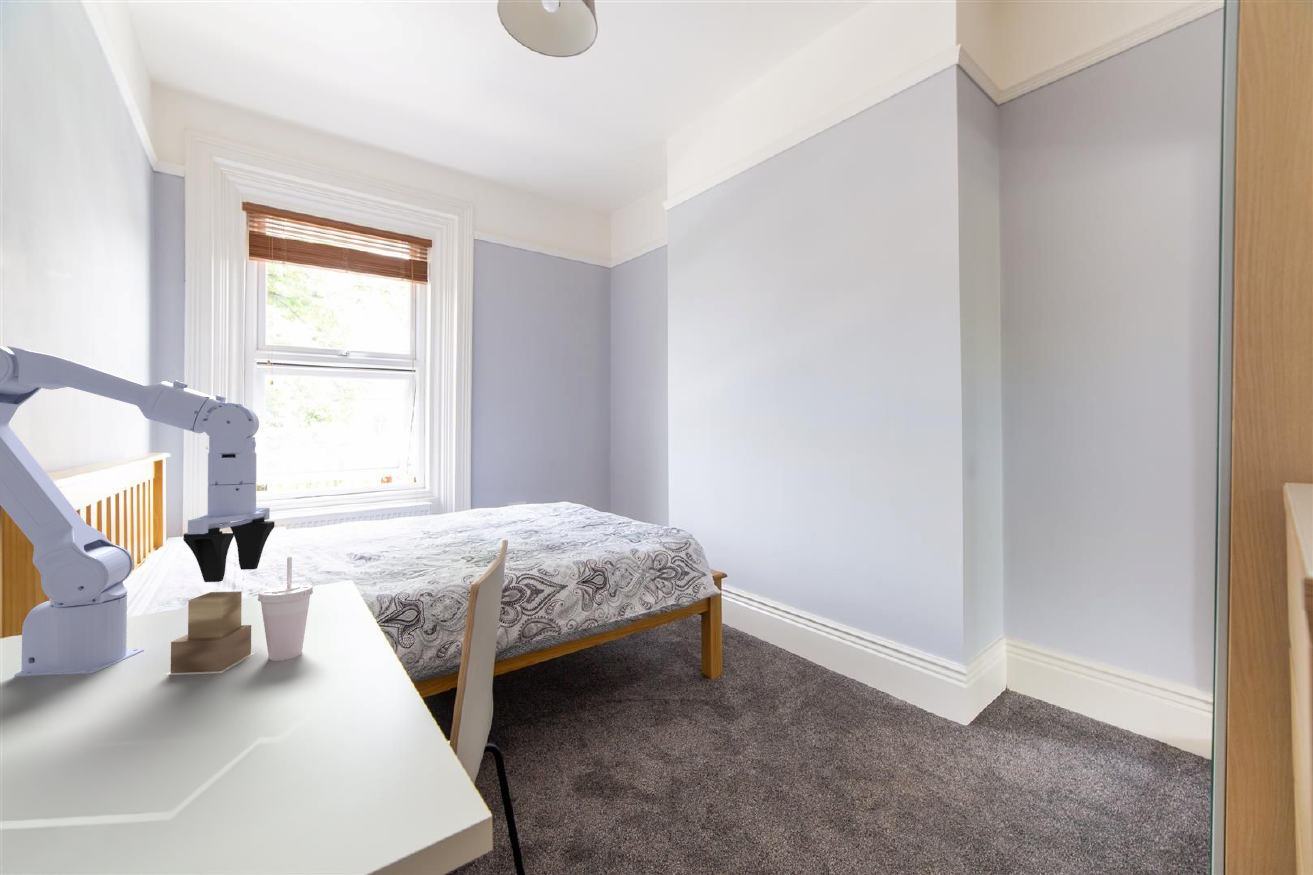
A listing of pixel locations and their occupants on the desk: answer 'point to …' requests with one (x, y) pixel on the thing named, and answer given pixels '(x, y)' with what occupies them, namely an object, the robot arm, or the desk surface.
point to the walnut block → (210, 652)
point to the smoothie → (285, 617)
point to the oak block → (214, 614)
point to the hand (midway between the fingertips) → (232, 575)
